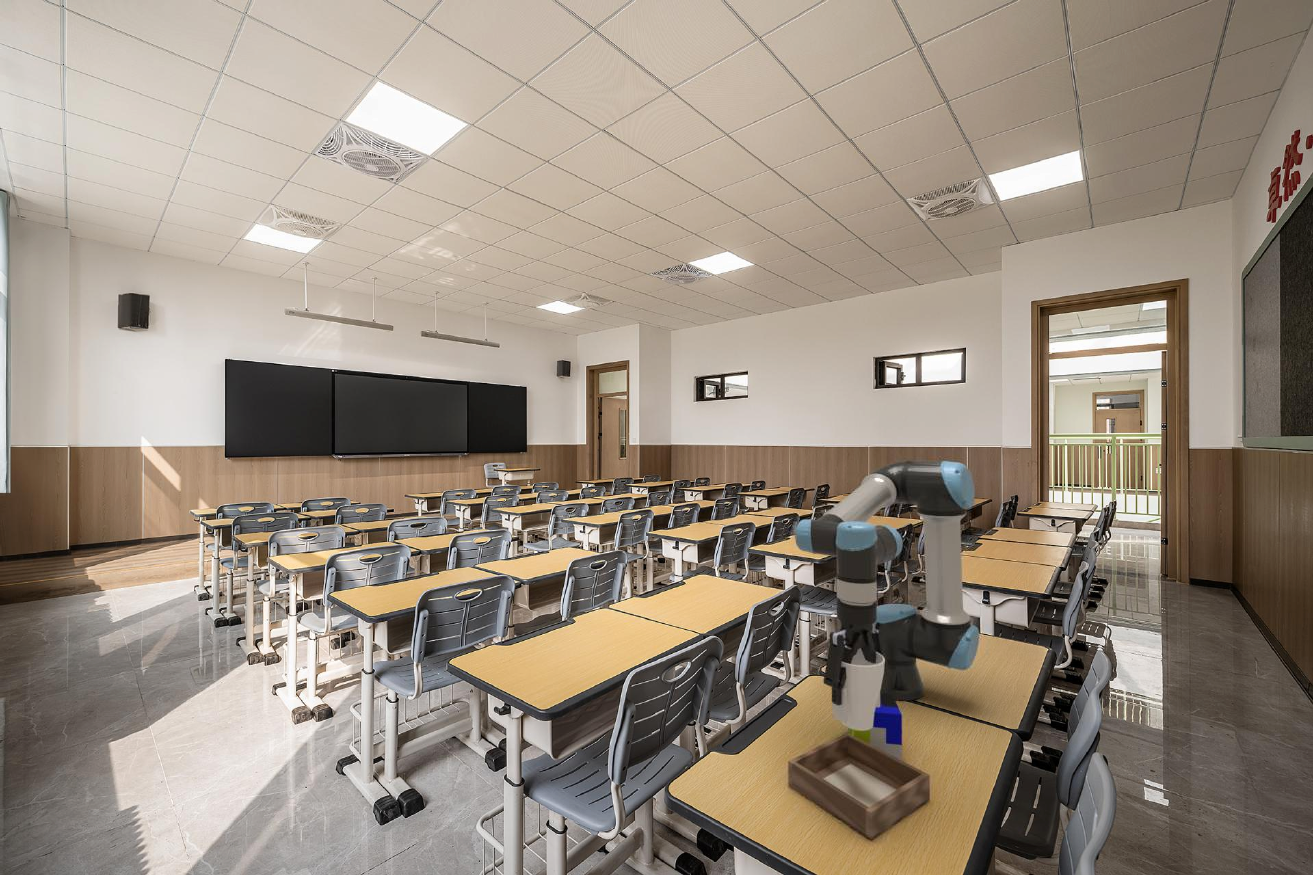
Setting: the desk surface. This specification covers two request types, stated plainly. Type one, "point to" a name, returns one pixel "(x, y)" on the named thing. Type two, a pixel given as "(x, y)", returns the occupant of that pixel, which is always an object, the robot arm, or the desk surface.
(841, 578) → the robot arm
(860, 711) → the cup
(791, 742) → the desk surface
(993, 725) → the desk surface
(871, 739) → the puzzle toy
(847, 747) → the walled box
